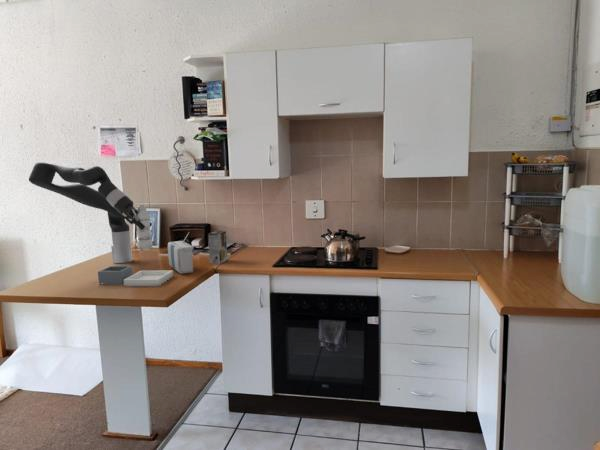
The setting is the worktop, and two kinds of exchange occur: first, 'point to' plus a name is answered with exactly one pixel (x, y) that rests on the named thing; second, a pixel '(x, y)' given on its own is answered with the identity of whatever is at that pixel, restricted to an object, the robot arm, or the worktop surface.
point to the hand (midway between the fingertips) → (147, 227)
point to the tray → (148, 278)
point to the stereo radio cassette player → (180, 256)
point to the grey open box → (114, 274)
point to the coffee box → (217, 247)
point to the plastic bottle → (144, 234)
